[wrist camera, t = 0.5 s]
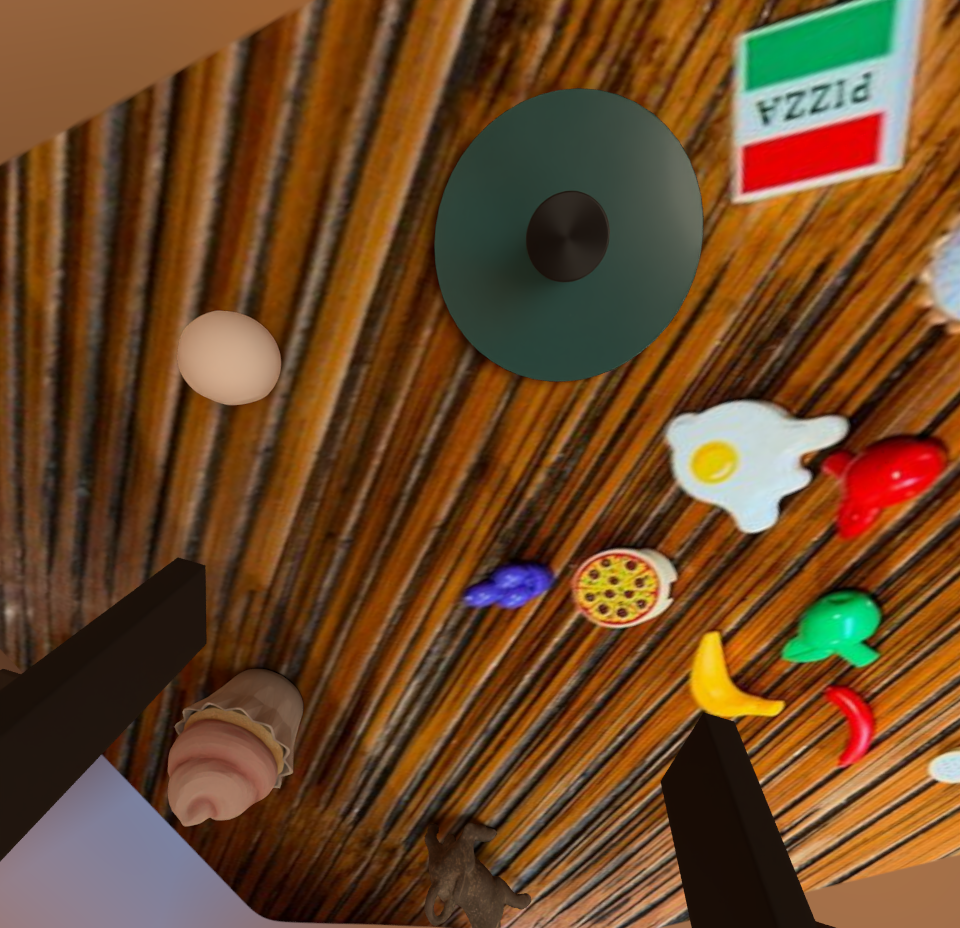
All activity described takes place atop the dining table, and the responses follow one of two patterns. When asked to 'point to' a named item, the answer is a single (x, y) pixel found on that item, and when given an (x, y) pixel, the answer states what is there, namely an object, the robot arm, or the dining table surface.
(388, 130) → the dining table surface
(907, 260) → the dining table surface
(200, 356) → the beige ball
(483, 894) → the dog figurine
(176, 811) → the cupcake
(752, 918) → the robot arm
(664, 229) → the lid
